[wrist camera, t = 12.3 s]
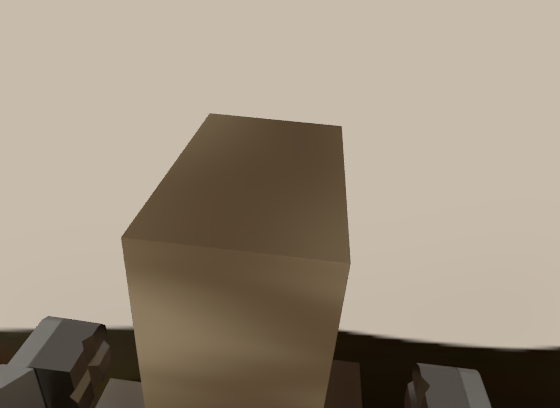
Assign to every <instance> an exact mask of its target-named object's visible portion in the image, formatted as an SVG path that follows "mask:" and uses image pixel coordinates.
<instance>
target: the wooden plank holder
mask: <svg viewBox="0 0 560 408" xmlns="http://www.w3.org/2000/svg"><path fill="white" fill-rule="evenodd" d="M96 408H145V405H144V398H143V391H142V383H141V382H135V381H127V380H119V379H112V378H110V380H109V382H108V384H107V386H106V388H105V390H104V392H103V394H102V396H101V398H100V400H99V402H98V404H97V406H96ZM324 408H362V394H361V380H360V365H359V363H355V362H347V361H339V360H332V366H331V371H330V376H329V382H328V387H327V393H326V398H325V403H324Z"/></svg>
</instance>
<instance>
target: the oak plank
mask: <svg viewBox="0 0 560 408" xmlns="http://www.w3.org/2000/svg"><path fill="white" fill-rule="evenodd" d="M343 156H344V155H343V141H342V127H341V126H333V125H323V124H313V123H302V122H293V121H282V120H271V119H262V118H251V117H241V116H231V115H221V114H209V115H208V117H207V118H206V120H205V121H204V122H203V124H202V125H201V127H200V128H199V129H198V131H197V132H196V134H195V135H194V136H193V138H192V139H191V141H190V142H189V143H188V145H187V146H186V148H185V149H184V150H183V152H182V153H181V154H180V156H179V157H178V159H177V160H176V162H175V163H174V164H173V166H172V167H171V168H170V170H169V172H168V173H167V174H166V175H165V177H164V178H163V180H162V181H161V182H160V184H159V185H158V187H157V188H156V190H155V191H154V192H153V194H152V195H151V196H150V198H149V200H148V201H147V202H146V203H145V205H144V206H143V208H142V209H141V210H140V212H139V213H138V215H137V216H136V217H135V219H134V220H133V222H132V223H131V225H130V226H129V227H128V229H127V230H126V232H125V233H124V234H123V236H122V237H121V239H122V247H123V254H124V261H125V268H126V275H127V283H128V290H129V296H130V304H131V312H132V319H133V326H134V333H135V340H136V348H137V355H138V362H139V369H140V376H141V383H142V391H143V398H144V405H145V408H324V403H325V398H326V393H327V387H328V382H329V376H330V371H331V366H332V360H333V355H334V349H335V344H336V339H337V333H338V328H339V323H340V317H341V312H342V306H343V301H344V295H345V290H346V285H347V279H348V274H349V269H350V248H349V234H348V218H347V202H346V187H345V171H344V157H343Z"/></svg>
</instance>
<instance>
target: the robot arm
mask: <svg viewBox="0 0 560 408" xmlns="http://www.w3.org/2000/svg"><path fill="white" fill-rule="evenodd" d="M106 336H107V330H106V326H105V325H103V324H98V323H91V322H86V321H78V320H72V319H65V318H57V317H50V316H48V317H46V318H44V319H43V320H42V321H41V322H40V323H39V325H38V326H37V327H36V328H35V330H34V331H33V332H32V334H31V335H30V336H29V337H28V339H27V340H26V341H25V343H24V344H23V345H22V346H21V348H20V349H19V350H18V351H17V353H16V354H15V355H14V357H13V358H12V359H11V360H10V362H9V363H8V364H7V365H4V364H1V365H0V408H89V406H90V404H91V402H92V400H93V399H94V393H93V388H94V387H96V386H97V385H98V384H100V383H101V382H102V381H103V379H104V377H105V375H106V373H107V371H108V367H109V363H110V355H111V352H110V346H109V345H108V344H107V343H106V342H105V341H104V339H105V337H106ZM411 373H412V379H413V381H412V382H410V383H409V384H408V385H407V388H406V392H405V400H404V408H492V407H491V404H490V401H489V399H488V396H487V393H486V390H485V387H484V385H483V382H482V379H481V376H480V374H479V372H478V371H477V370H472V369H464V368H455V367H449V366H440V365H431V364H422V363H416V364H415V365H414V366H413V369H412V372H411Z"/></svg>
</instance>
